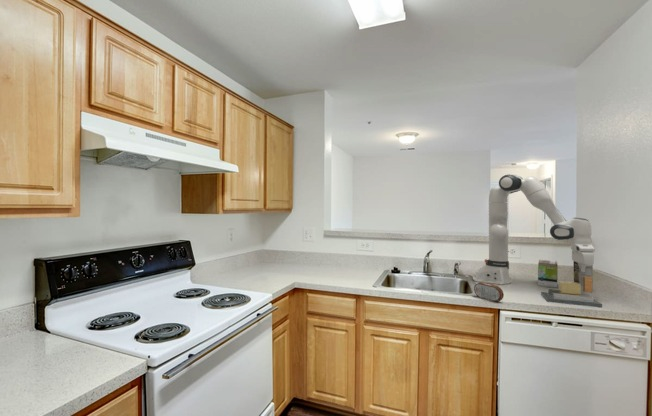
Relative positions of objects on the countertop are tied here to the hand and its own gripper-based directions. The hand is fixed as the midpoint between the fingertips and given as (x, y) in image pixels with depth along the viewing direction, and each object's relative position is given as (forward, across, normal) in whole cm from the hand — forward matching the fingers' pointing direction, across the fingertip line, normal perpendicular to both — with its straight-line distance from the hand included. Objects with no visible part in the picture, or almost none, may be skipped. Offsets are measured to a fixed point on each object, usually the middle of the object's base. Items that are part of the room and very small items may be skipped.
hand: (582, 271), depth 166 cm
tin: (+13, +30, -49) cm, 59 cm away
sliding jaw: (+11, +9, -9) cm, 17 cm away
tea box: (+13, -22, -11) cm, 28 cm away
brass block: (+12, +15, -10) cm, 22 cm away
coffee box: (+14, -16, +5) cm, 22 cm away
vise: (+13, +16, -10) cm, 23 cm away
